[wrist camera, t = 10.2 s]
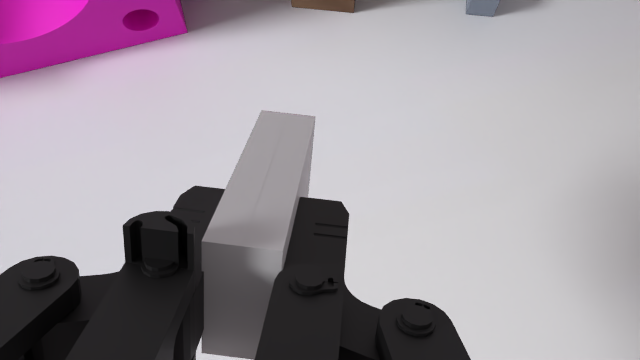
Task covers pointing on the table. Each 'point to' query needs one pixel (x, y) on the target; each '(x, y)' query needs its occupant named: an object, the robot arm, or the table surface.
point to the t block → (326, 5)
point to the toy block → (79, 29)
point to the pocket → (481, 7)
